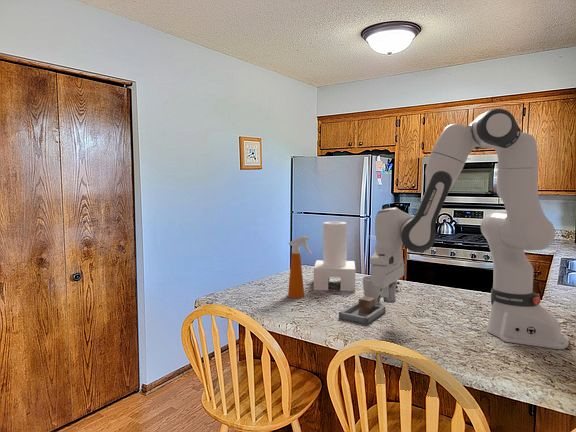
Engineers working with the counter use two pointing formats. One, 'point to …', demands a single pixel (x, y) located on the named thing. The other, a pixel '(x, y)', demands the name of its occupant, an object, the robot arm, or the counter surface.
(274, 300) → the counter surface
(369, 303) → the walnut block
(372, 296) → the cup
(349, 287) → the white cylinder stand
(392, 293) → the metal cylinder
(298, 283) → the spray bottle
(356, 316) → the parts tray
